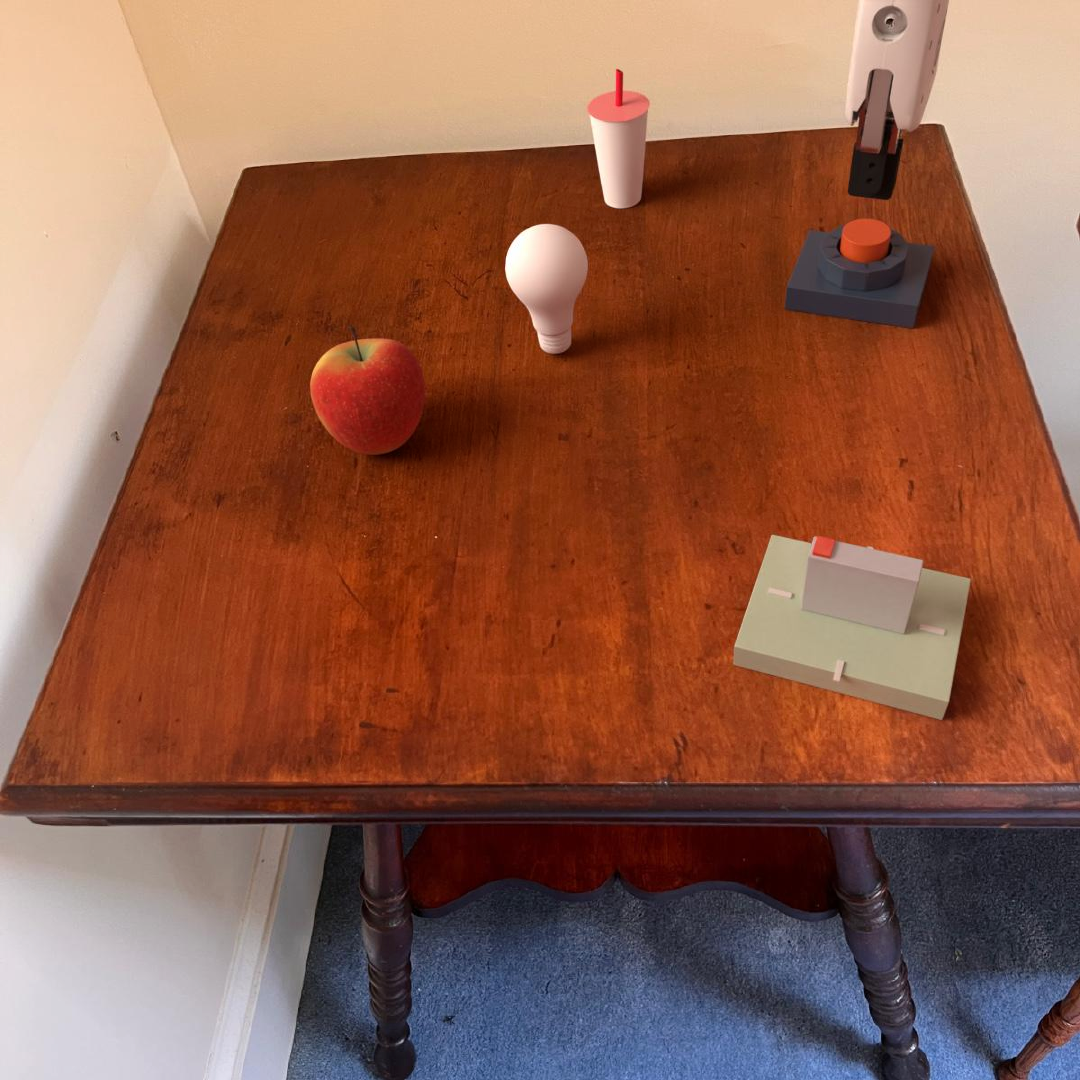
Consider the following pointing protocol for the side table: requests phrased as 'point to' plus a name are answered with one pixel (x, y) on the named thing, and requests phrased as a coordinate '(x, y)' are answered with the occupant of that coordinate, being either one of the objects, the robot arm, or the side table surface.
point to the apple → (369, 394)
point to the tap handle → (860, 584)
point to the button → (865, 240)
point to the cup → (620, 143)
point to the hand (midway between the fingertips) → (870, 191)
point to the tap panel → (853, 638)
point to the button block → (859, 281)
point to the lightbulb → (548, 280)
